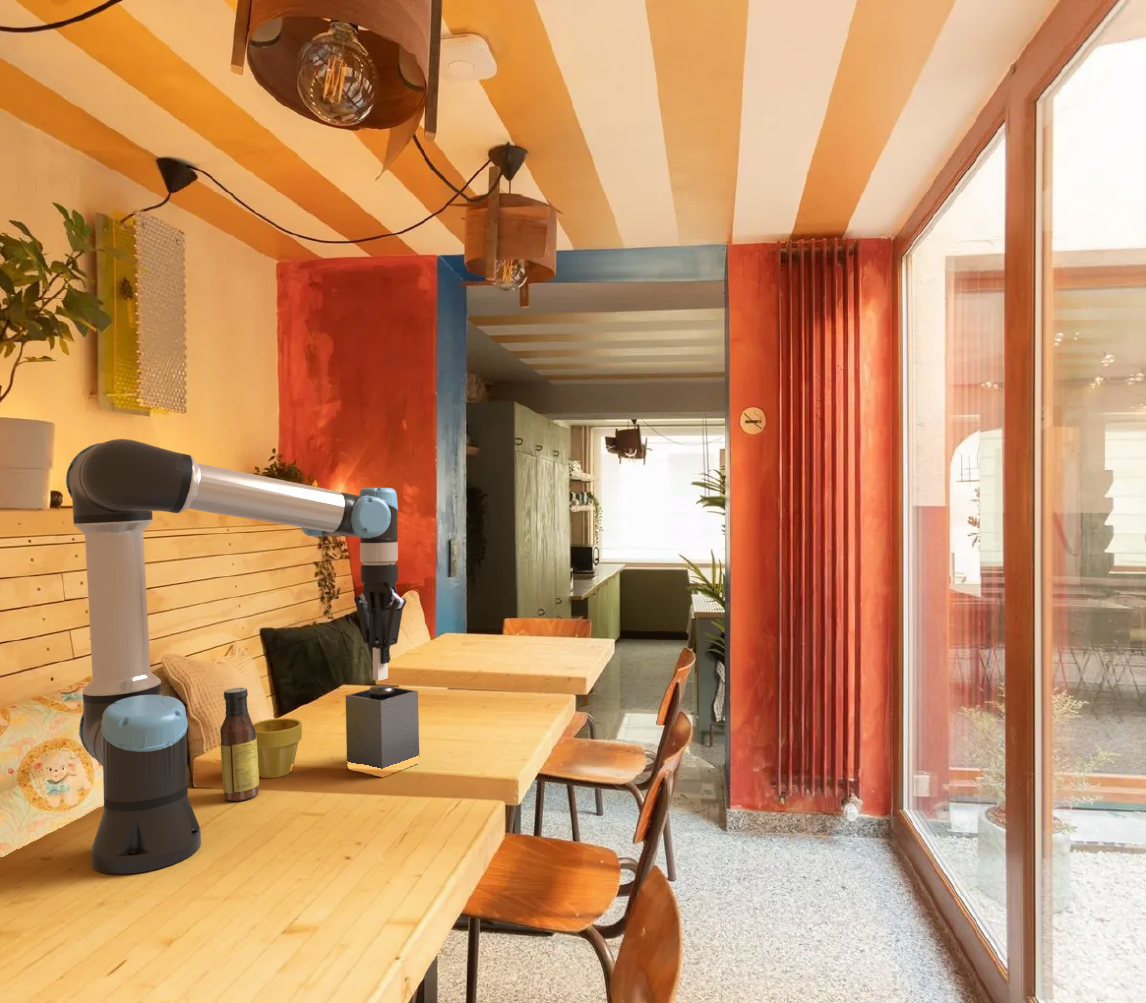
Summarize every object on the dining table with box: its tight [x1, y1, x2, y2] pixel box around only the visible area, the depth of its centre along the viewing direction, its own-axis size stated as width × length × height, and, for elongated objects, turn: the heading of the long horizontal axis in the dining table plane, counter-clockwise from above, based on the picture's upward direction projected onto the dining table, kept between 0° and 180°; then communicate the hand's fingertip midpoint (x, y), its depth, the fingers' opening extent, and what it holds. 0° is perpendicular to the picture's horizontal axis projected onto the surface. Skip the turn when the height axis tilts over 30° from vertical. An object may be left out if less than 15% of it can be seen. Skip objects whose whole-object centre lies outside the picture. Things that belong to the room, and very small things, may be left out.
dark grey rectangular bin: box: [345, 686, 420, 769], centre depth 171 cm, size 14×10×15 cm
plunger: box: [369, 684, 395, 700], centre depth 170 cm, size 8×8×13 cm
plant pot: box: [252, 717, 303, 779], centre depth 167 cm, size 10×10×10 cm
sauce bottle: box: [219, 687, 260, 802], centre depth 154 cm, size 7×6×20 cm
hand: (380, 679), depth 170 cm, fingers closed
